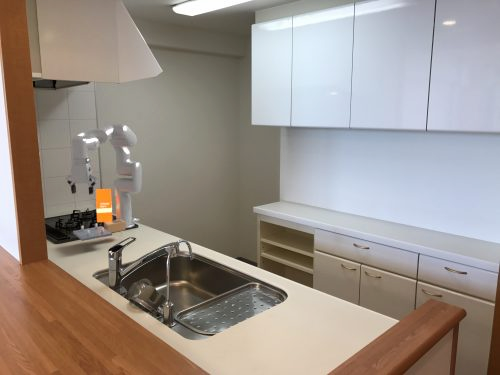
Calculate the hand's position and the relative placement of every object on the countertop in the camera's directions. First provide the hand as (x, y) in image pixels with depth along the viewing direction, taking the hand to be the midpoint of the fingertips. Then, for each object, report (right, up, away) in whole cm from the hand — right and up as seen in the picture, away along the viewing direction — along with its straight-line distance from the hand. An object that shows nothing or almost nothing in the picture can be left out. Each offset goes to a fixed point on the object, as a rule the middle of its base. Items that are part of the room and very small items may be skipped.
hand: (82, 193), depth 217 cm
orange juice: (-3, -18, +41) cm, 45 cm away
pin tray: (+2, -23, +9) cm, 24 cm away
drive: (+10, -22, +21) cm, 32 cm away
